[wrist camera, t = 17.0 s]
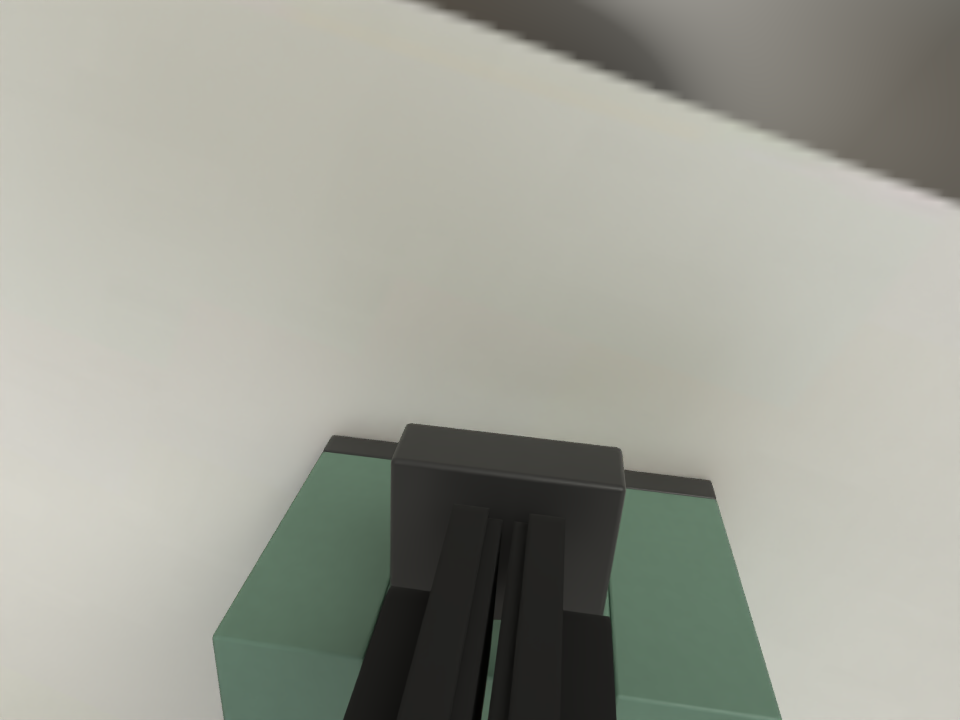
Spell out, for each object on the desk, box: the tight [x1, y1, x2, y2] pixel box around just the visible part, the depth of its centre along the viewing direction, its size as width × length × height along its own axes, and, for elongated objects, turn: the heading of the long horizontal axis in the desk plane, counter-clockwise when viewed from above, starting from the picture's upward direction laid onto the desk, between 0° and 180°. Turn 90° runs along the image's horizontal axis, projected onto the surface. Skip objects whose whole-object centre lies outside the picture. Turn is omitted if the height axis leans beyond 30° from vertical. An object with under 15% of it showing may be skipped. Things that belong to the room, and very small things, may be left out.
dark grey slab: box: [390, 423, 626, 620], centre depth 12 cm, size 3×4×1 cm
